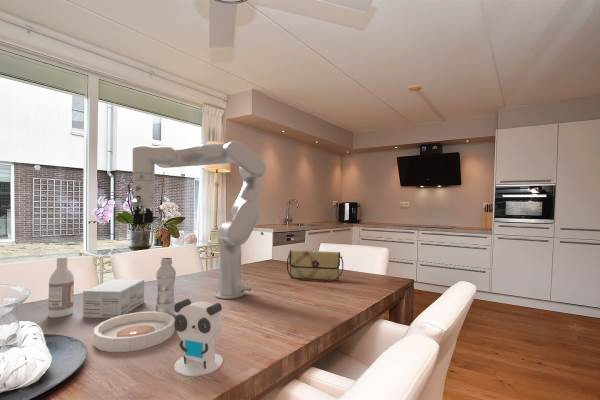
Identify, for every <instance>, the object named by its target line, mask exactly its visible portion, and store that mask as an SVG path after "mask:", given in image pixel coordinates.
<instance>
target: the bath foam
mask: <svg viewBox="0 0 600 400" xmlns="http://www.w3.org/2000/svg"><path fill="white" fill-rule="evenodd" d="M74 287H75V279H74V274H73V273H72V271H71V270H70V269H69V268H68V256H58V257H56V268H55V270H53V272H52V274H51V275H50V277H49V281H48V305H47V306H48V308H47V311H48V312H47V314H48V315H47V316H48V317H49V318H52V319H54V318H55V319H56V318H57V319H58V318H64V317H66V316H67V317H68V316H69V315H71V314H73V313H74V293H75V291H74V289H75V288H74Z"/></svg>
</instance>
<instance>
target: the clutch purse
mask: <svg viewBox="0 0 600 400" xmlns="http://www.w3.org/2000/svg"><path fill="white" fill-rule="evenodd" d="M341 263H342V265H341ZM289 265H290V266H289ZM340 266H341V272H340ZM289 267H290V269H289ZM286 270H287V273H288V275H289V277H290V279H295V280H298V281H303V282H313V283H332V282H335V281H340V276H341V275H342V273H343V272H344V260H343V255H341V251H321V250H319V251H318V250H317V251H316V250H293V249H292V250H291V249H290V250H289V252H288V256H287V259H286ZM289 270H290V271H289ZM317 280H318V281H317ZM319 280H320V281H319ZM321 280H322V281H321Z"/></svg>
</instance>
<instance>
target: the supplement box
mask: <svg viewBox="0 0 600 400" xmlns="http://www.w3.org/2000/svg"><path fill="white" fill-rule="evenodd" d="M144 303H145V280H144V279H127V278H126V279H125V278H122V279H121V278H112V279H110V280H107V281H105V282H103V283H99V284H98V285H94V286H93V287H90V288H88V289H85V290H83V291H82V318H94V319H95V318H99V319H100V318H103V319H105V318H106V319H107V318H108V319H111V318H113V317H117V316H121V315H125V314H126V313H127V314H129V313H130V312H131V311H133V310H135V309H136V308H137V306H138V307H140V306H141V305H143V304H144ZM140 304H141V305H140ZM134 308H135V309H134ZM132 309H133V310H132ZM129 311H130V312H129Z"/></svg>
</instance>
